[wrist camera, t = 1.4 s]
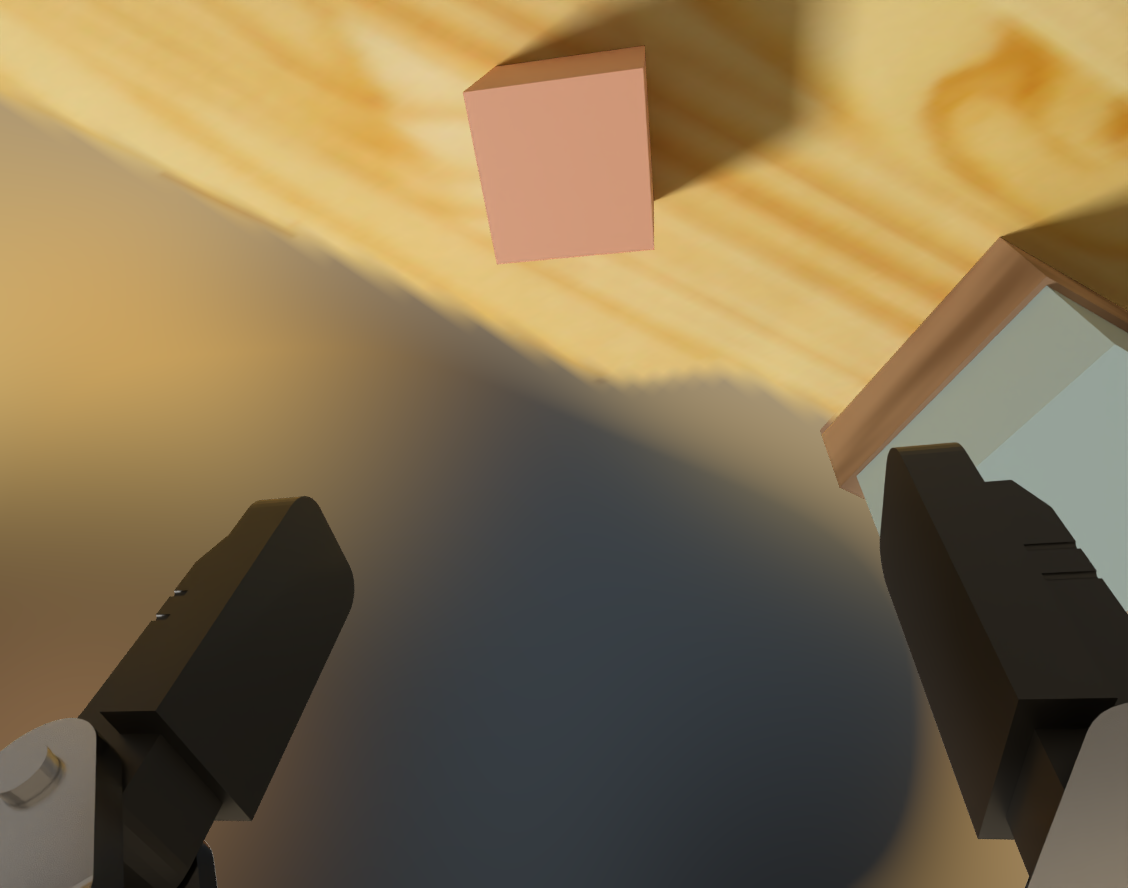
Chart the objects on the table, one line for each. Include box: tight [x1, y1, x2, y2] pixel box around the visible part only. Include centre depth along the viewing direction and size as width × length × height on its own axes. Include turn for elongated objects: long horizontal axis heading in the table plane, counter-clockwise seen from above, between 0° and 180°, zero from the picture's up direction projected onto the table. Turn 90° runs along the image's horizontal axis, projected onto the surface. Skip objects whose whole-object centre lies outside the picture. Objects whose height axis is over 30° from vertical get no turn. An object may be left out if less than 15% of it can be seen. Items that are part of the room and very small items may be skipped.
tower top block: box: [856, 285, 1128, 611], centre depth 24 cm, size 9×9×4 cm
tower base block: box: [820, 237, 1128, 499], centre depth 27 cm, size 10×10×4 cm
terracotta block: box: [463, 45, 654, 264], centre depth 22 cm, size 5×5×5 cm
